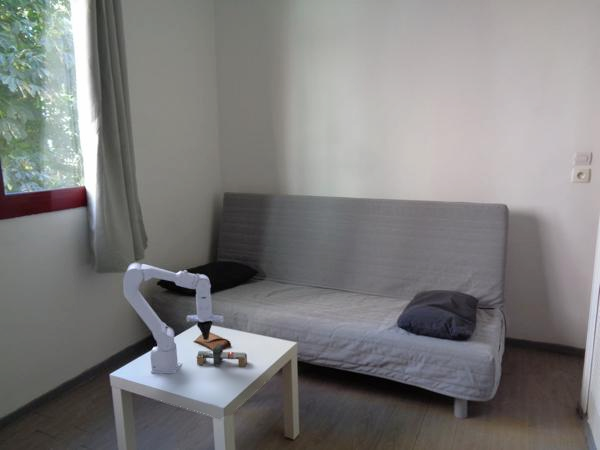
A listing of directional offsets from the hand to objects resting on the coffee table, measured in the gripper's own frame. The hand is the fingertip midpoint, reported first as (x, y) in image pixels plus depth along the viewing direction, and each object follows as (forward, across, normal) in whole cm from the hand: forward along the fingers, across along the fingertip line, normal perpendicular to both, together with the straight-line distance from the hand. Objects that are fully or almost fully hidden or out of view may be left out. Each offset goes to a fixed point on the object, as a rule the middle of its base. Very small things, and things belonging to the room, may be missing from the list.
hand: (206, 338), depth 180 cm
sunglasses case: (+11, -5, +17) cm, 21 cm away
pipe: (+10, +6, 0) cm, 12 cm away
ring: (+10, +4, 0) cm, 11 cm away
